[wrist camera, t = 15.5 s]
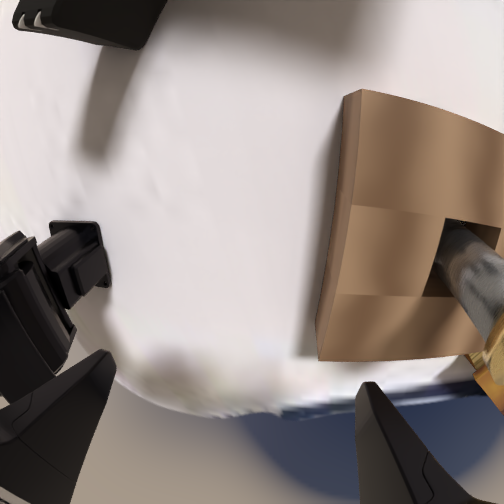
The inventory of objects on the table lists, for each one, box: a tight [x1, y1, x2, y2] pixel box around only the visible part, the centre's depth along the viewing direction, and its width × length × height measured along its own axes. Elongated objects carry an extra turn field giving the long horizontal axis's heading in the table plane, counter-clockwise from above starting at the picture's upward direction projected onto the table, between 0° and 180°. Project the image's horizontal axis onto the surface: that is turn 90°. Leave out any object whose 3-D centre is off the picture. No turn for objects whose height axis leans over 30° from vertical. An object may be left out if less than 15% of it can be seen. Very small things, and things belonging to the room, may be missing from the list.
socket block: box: [315, 89, 504, 362], centre depth 16 cm, size 18×18×4 cm
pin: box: [432, 218, 504, 385], centre depth 13 cm, size 5×5×13 cm
